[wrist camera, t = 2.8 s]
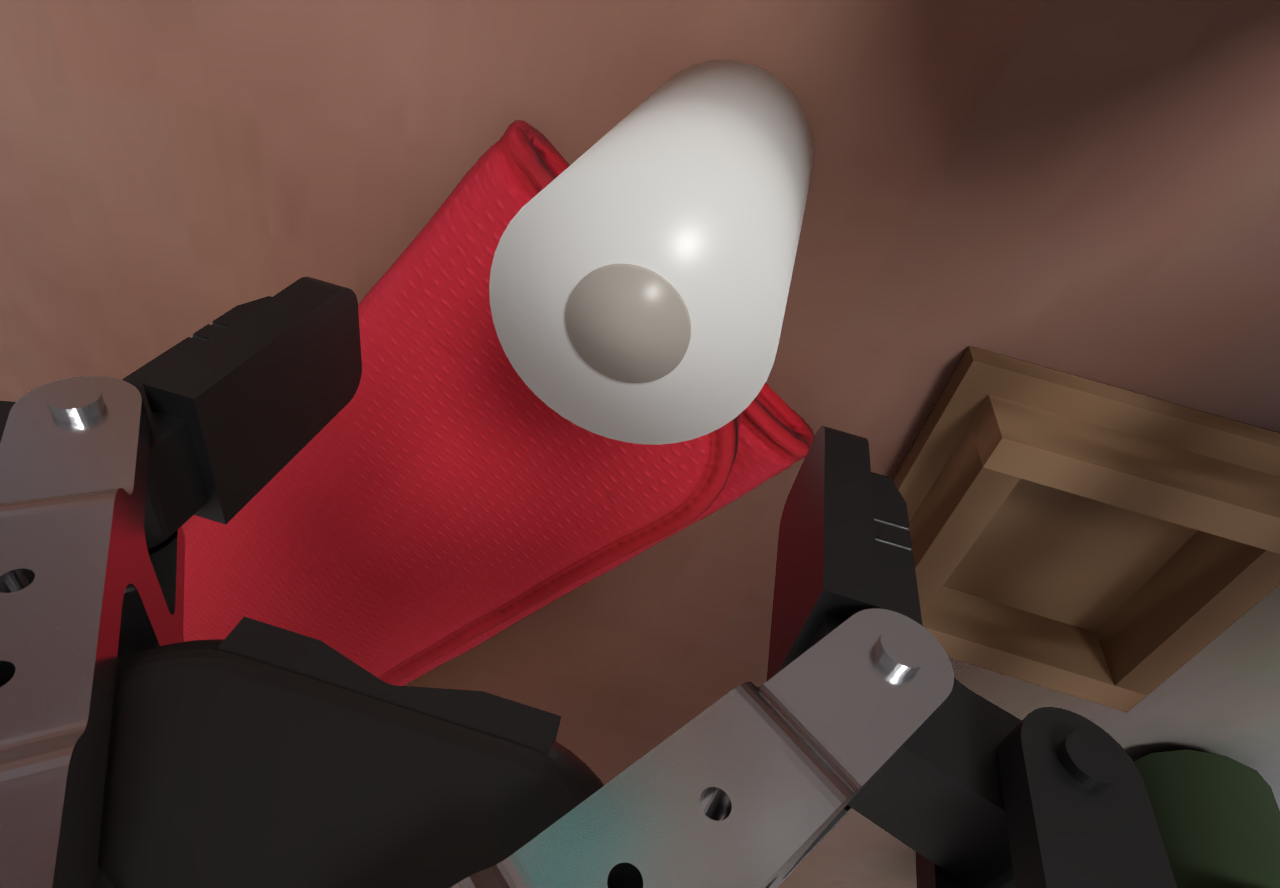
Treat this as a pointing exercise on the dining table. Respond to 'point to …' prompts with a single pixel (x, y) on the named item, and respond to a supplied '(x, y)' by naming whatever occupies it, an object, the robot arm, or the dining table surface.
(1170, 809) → the character mug
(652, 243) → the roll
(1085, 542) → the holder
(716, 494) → the red folded cloth
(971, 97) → the dining table surface
